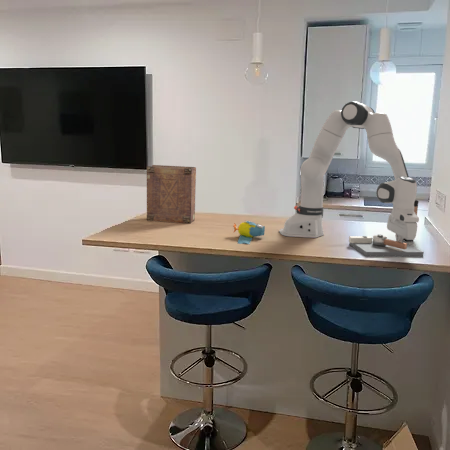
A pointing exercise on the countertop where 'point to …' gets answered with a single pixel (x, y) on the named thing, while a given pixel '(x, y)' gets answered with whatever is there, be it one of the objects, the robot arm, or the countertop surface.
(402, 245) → the multicoloured piece
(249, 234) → the yellow and blue toy
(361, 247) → the stand
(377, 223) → the countertop surface
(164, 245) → the countertop surface
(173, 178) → the book
